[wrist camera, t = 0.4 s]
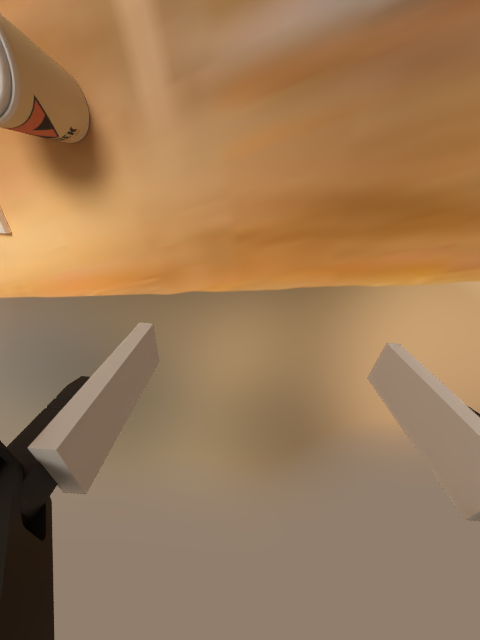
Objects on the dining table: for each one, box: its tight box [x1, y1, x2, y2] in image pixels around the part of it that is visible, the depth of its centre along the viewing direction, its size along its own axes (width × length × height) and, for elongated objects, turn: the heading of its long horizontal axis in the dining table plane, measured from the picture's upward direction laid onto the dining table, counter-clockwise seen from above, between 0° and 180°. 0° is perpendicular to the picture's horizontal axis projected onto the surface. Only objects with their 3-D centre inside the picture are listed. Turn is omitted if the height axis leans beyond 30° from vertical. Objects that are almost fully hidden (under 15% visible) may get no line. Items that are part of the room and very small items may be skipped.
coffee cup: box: [0, 14, 89, 143], centre depth 22 cm, size 9×9×12 cm
